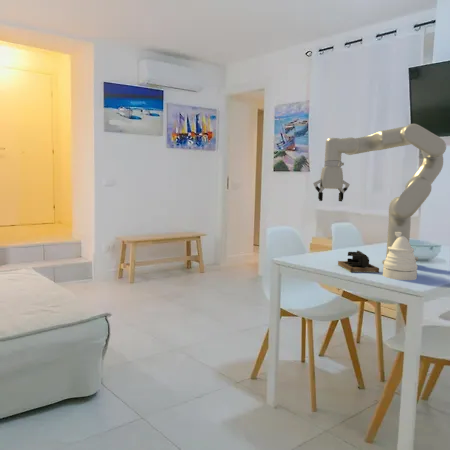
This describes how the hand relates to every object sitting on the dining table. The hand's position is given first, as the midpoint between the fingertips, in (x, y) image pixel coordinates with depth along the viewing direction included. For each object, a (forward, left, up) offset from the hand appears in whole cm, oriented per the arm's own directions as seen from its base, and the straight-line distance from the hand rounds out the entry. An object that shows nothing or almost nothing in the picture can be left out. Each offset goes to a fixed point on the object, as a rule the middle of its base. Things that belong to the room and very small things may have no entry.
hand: (330, 201), depth 211 cm
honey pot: (-19, +35, -29) cm, 49 cm away
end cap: (-7, +20, -28) cm, 35 cm away
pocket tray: (-7, +20, -28) cm, 36 cm away
